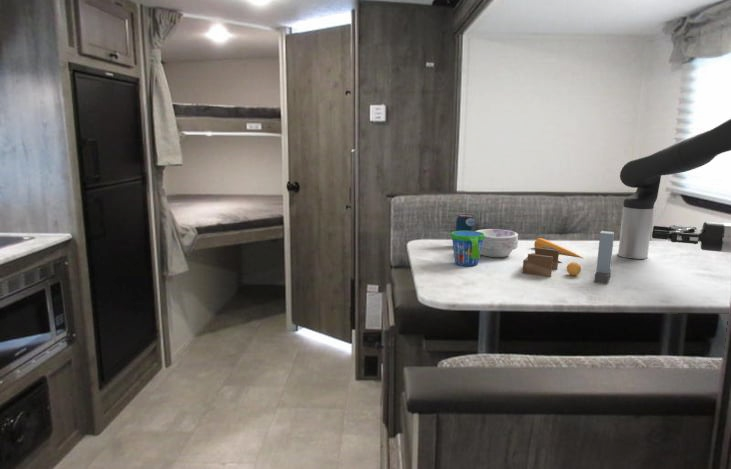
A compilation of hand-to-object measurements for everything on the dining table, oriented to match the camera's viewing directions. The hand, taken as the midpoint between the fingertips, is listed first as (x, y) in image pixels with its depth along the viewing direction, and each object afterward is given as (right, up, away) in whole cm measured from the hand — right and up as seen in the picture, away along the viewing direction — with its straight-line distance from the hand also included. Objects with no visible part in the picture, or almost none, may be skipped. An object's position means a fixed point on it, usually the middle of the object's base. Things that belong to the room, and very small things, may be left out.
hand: (652, 231), depth 140 cm
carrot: (-10, -8, +42) cm, 44 cm away
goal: (-25, -12, +17) cm, 32 cm away
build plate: (-17, -10, +32) cm, 38 cm away
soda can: (-42, -6, +50) cm, 65 cm away
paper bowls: (-34, -8, +38) cm, 52 cm away
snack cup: (-46, -10, +25) cm, 54 cm away
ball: (-17, -13, +13) cm, 25 cm away
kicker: (-10, -14, +9) cm, 19 cm away
